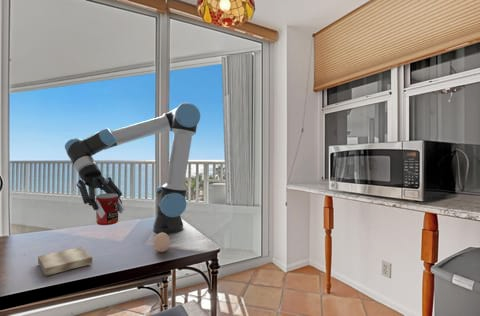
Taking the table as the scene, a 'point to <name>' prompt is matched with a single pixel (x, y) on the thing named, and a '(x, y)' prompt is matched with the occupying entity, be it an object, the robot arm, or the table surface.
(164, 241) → the egg
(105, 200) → the canned food
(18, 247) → the table surface
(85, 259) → the maple stand
